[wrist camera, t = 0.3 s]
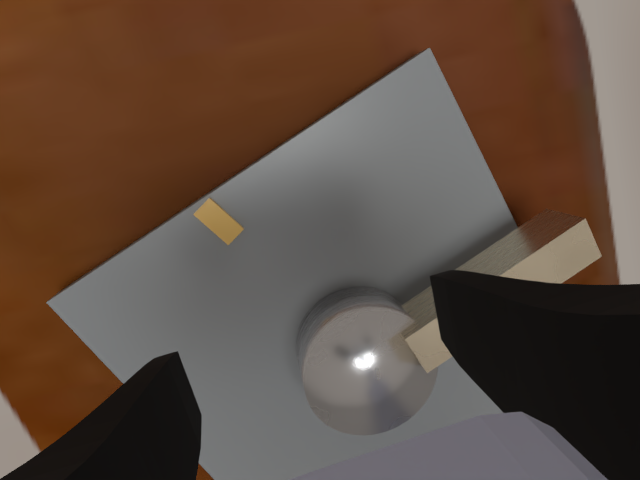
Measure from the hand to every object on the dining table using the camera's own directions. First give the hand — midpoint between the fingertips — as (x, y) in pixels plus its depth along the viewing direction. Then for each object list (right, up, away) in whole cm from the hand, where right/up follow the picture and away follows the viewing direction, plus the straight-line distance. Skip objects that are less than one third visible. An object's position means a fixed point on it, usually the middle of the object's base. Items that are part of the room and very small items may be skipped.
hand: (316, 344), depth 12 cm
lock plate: (+2, -2, +11) cm, 11 cm away
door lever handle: (+5, 0, +10) cm, 11 cm away
